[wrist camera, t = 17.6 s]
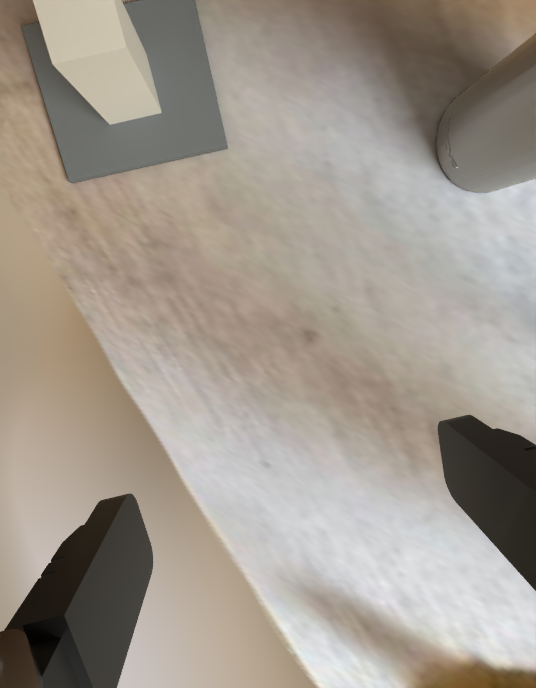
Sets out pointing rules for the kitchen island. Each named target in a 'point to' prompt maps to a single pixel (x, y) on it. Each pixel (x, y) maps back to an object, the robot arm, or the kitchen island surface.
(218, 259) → the kitchen island surface
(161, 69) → the slate mat
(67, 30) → the cream block
